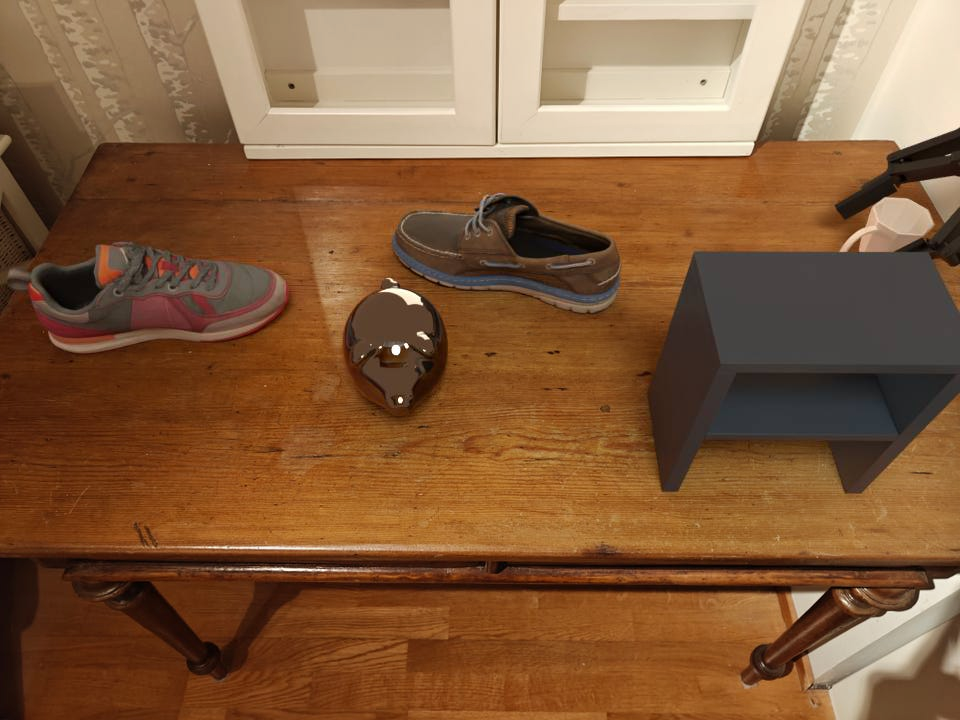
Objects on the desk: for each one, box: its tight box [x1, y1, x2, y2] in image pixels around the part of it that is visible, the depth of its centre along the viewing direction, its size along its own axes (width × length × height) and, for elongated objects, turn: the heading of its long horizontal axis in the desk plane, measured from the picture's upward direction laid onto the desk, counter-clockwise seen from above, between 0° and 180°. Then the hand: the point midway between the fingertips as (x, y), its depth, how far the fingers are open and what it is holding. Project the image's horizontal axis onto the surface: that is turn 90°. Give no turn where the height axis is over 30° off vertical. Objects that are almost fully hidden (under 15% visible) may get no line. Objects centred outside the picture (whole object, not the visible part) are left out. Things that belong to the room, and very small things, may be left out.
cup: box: [838, 196, 936, 252], centre depth 86 cm, size 7×10×8 cm
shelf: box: [646, 250, 960, 494], centre depth 65 cm, size 20×12×22 cm, turn 89°
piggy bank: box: [341, 277, 449, 417], centre depth 74 cm, size 11×15×12 cm
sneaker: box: [5, 240, 290, 355], centre depth 80 cm, size 10×28×12 cm, turn 102°
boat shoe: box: [391, 192, 623, 314], centre depth 85 cm, size 10×29×11 cm, turn 74°
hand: (853, 242), depth 86 cm, fingers open, 10 cm apart
